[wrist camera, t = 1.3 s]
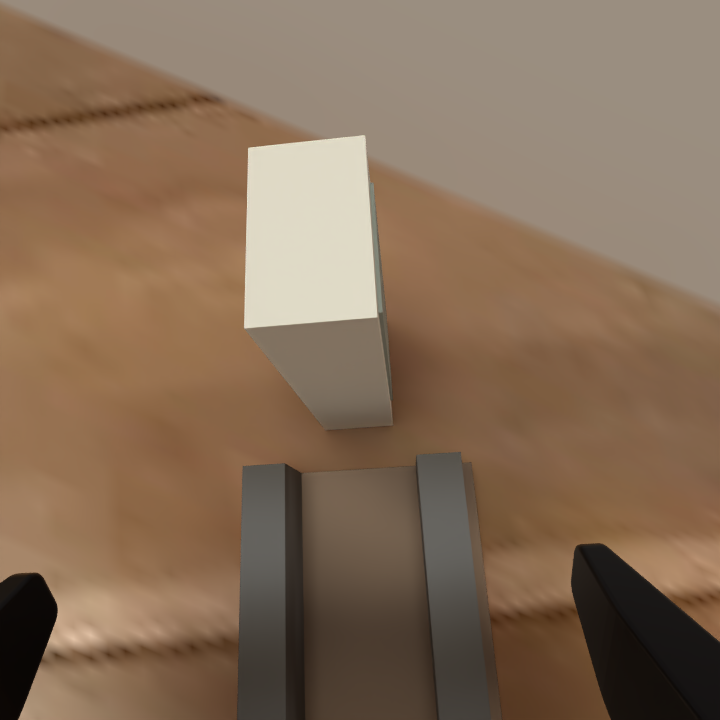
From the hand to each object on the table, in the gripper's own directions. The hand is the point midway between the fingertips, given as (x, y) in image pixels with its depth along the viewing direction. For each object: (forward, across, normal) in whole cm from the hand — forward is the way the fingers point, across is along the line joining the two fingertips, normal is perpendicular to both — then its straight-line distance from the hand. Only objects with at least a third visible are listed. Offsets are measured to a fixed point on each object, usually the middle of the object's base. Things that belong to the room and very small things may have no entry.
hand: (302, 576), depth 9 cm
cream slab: (+15, 0, +4) cm, 15 cm away
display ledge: (+7, 0, +12) cm, 14 cm away
